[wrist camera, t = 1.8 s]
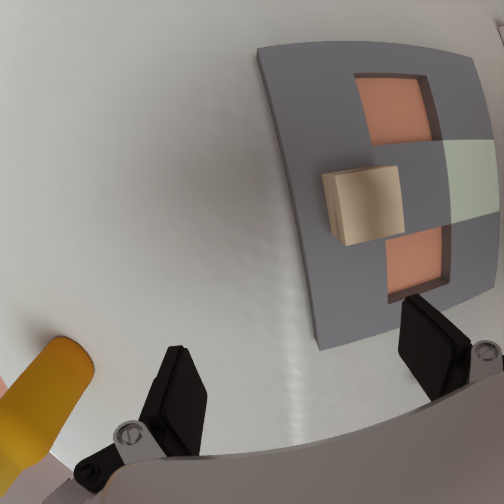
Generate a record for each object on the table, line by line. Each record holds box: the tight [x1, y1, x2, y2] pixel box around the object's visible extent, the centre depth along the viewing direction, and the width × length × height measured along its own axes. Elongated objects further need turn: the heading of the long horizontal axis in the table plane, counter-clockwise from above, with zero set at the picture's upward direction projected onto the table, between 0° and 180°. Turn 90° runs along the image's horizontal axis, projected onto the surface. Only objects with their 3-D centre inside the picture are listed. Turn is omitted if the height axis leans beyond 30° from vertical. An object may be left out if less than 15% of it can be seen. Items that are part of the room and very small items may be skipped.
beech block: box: [321, 165, 405, 246], centre depth 23 cm, size 6×6×4 cm
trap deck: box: [257, 41, 500, 351], centre depth 26 cm, size 30×34×2 cm
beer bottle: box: [0, 337, 94, 497], centre depth 21 cm, size 9×9×29 cm
